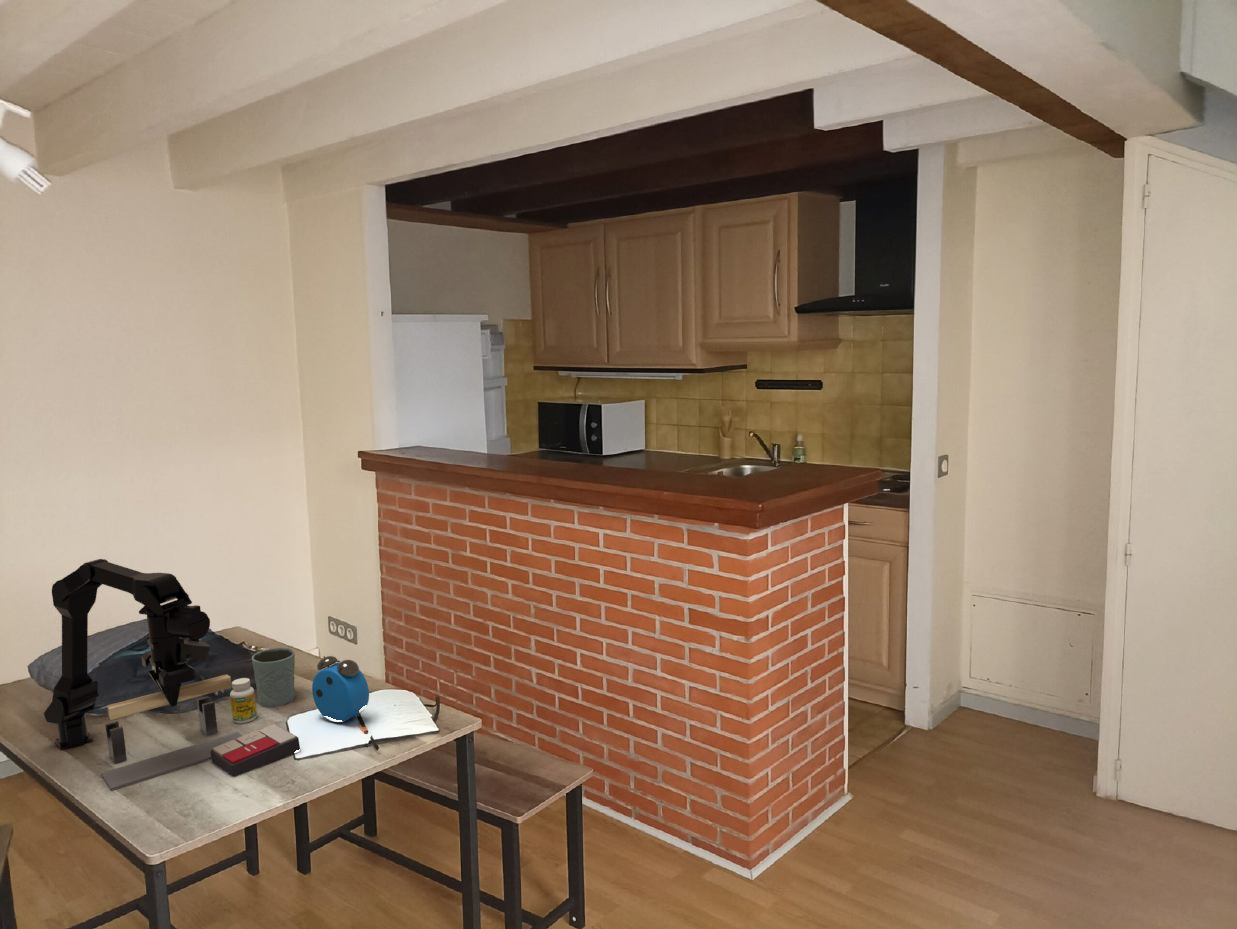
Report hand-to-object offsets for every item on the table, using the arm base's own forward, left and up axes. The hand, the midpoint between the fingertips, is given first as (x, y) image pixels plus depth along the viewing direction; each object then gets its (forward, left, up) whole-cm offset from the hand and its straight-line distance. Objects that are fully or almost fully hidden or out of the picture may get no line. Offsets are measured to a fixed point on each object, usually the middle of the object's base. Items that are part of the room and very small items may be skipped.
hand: (172, 704), depth 195 cm
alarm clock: (+5, +35, -13) cm, 38 cm away
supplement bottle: (-12, +18, -13) cm, 25 cm away
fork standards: (-11, 0, -13) cm, 17 cm away
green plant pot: (-18, +28, -13) cm, 36 cm away
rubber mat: (0, 0, -13) cm, 13 cm away
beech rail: (0, 0, +1) cm, 1 cm away
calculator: (+10, +13, -14) cm, 21 cm away
